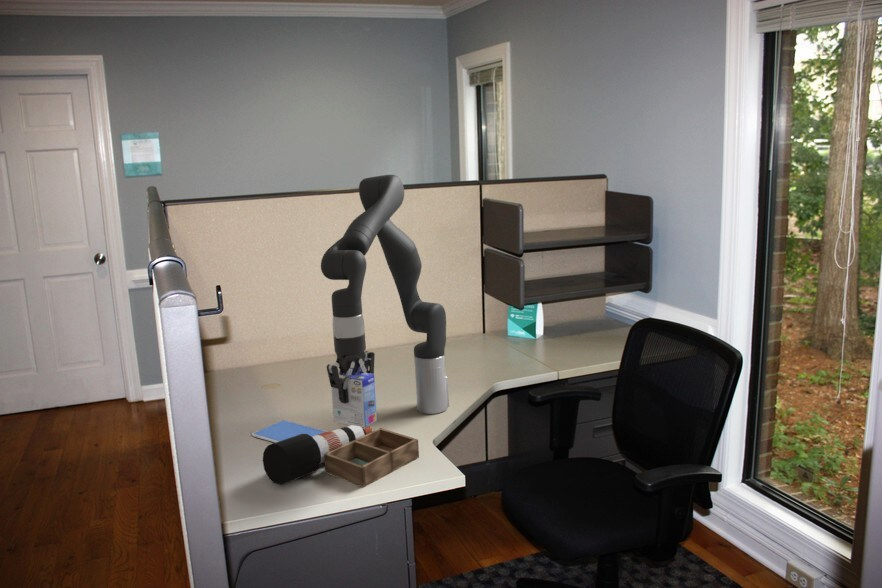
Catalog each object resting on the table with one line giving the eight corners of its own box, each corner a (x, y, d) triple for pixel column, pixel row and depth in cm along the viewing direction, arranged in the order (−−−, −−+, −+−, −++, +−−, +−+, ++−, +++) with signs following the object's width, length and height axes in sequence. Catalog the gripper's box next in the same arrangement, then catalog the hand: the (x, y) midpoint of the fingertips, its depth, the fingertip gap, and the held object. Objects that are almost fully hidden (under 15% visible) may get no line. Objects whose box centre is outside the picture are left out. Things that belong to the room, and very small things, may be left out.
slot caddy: (381, 445, 197) (380, 427, 196) (419, 457, 189) (418, 439, 188) (325, 472, 183) (324, 454, 182) (363, 487, 174) (362, 468, 173)
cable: (375, 455, 202) (388, 427, 198) (282, 493, 175) (295, 461, 171) (351, 432, 207) (363, 405, 203) (258, 466, 180) (270, 435, 176)
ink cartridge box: (378, 420, 179) (374, 364, 176) (365, 428, 175) (361, 371, 171) (346, 414, 184) (341, 359, 181) (333, 422, 179) (328, 366, 176)
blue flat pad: (250, 437, 208) (250, 433, 208) (284, 422, 218) (283, 418, 218) (297, 452, 197) (297, 447, 197) (330, 435, 207) (330, 431, 207)
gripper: (359, 323, 182) (364, 387, 186) (315, 337, 172) (321, 404, 175) (381, 327, 177) (385, 393, 181) (337, 342, 167) (342, 411, 170)
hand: (354, 398), depth 178 cm, fingers closed on ink cartridge box, 6 cm apart
